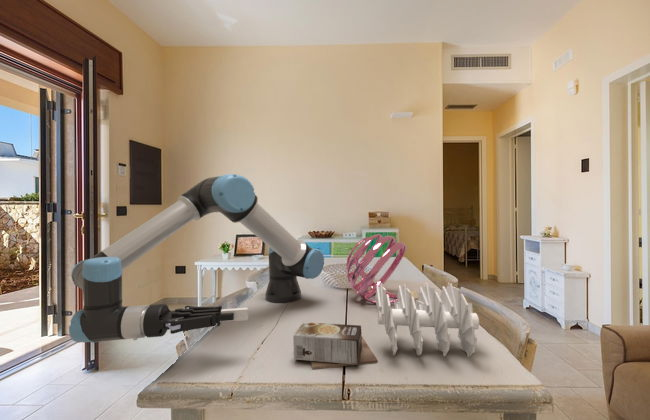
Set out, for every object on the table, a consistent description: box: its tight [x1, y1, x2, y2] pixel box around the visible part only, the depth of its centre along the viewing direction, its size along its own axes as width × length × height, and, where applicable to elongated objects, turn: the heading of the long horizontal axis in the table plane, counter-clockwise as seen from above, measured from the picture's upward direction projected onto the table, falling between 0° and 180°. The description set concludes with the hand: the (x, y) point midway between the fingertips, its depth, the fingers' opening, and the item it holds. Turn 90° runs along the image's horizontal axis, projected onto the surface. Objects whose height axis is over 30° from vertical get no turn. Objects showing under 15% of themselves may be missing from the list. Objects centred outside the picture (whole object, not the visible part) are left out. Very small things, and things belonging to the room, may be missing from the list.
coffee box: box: [293, 321, 363, 366], centre depth 77 cm, size 9×6×16 cm
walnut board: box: [310, 336, 379, 370], centre depth 81 cm, size 18×16×1 cm
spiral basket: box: [345, 233, 407, 305], centre depth 123 cm, size 28×28×27 cm
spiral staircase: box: [375, 282, 480, 358], centre depth 78 cm, size 18×18×25 cm
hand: (247, 313), depth 77 cm, fingers closed
